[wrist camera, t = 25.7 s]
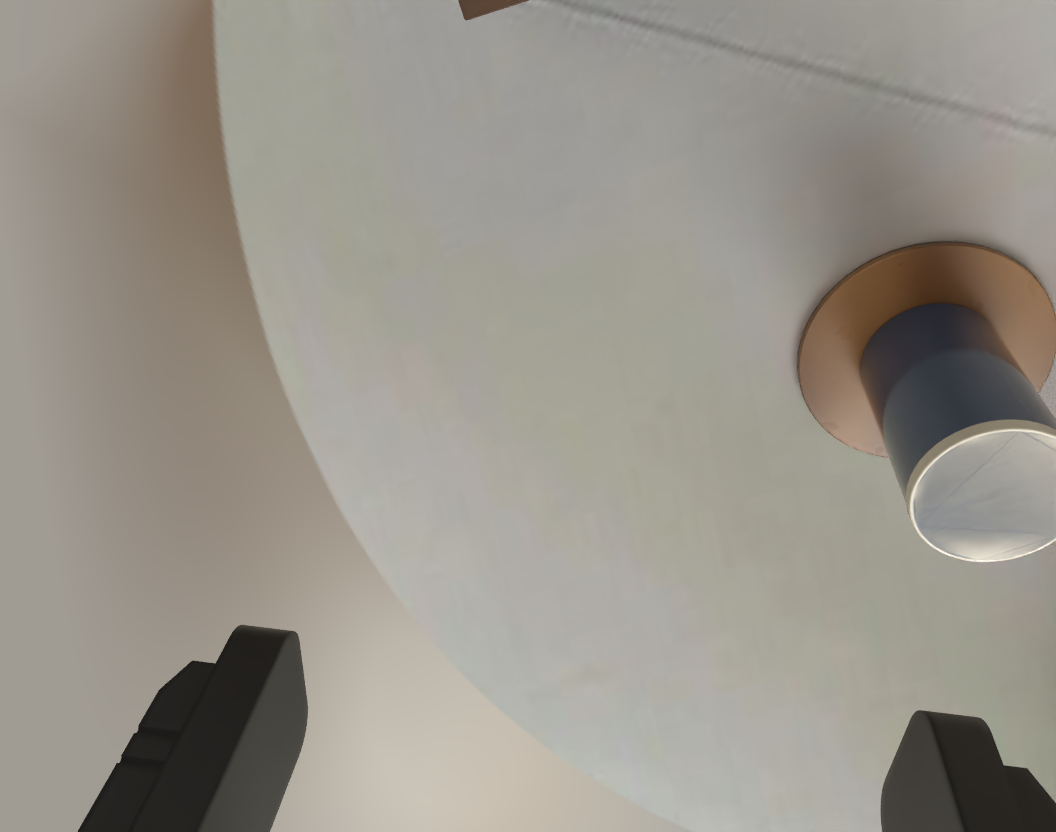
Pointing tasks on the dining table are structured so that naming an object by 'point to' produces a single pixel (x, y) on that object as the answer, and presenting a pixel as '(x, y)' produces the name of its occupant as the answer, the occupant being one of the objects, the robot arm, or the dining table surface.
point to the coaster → (902, 286)
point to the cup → (963, 433)
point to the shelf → (484, 6)
